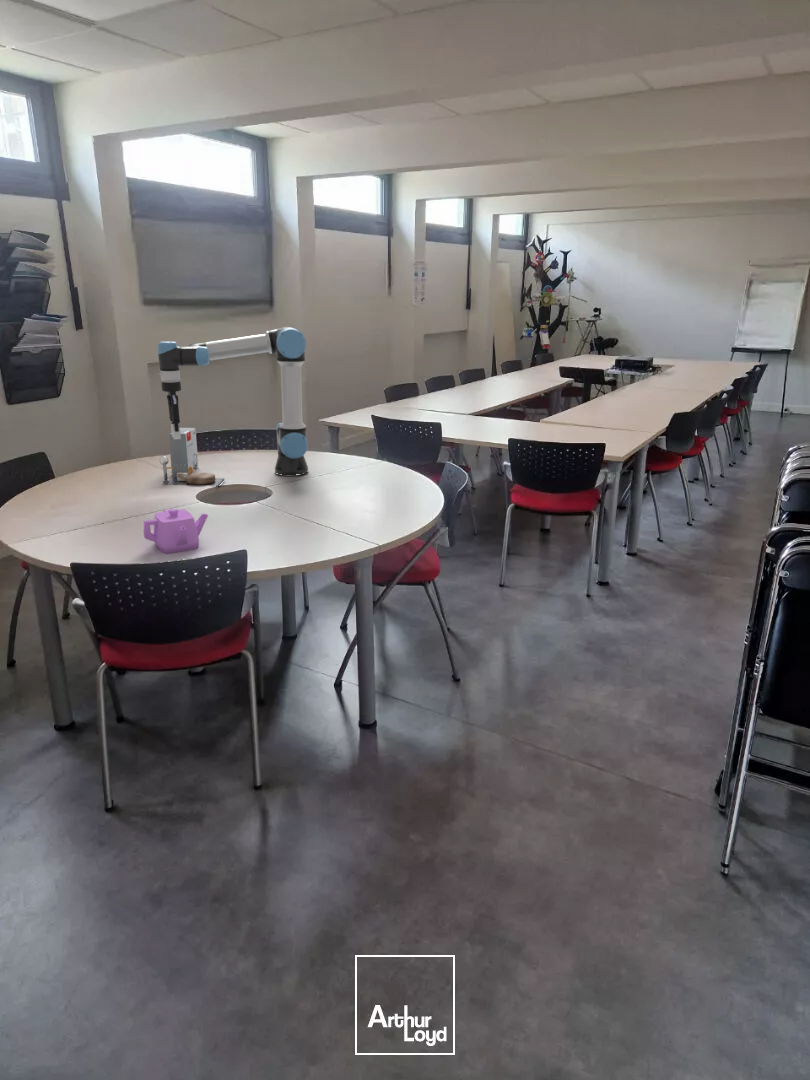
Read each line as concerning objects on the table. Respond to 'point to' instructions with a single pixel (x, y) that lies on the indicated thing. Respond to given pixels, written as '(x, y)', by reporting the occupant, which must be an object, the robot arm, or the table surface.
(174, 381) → the robot arm
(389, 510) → the table surface
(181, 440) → the hard drive box
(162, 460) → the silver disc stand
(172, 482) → the dark grey rectangular plate
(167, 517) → the teakettle
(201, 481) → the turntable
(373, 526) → the table surface
